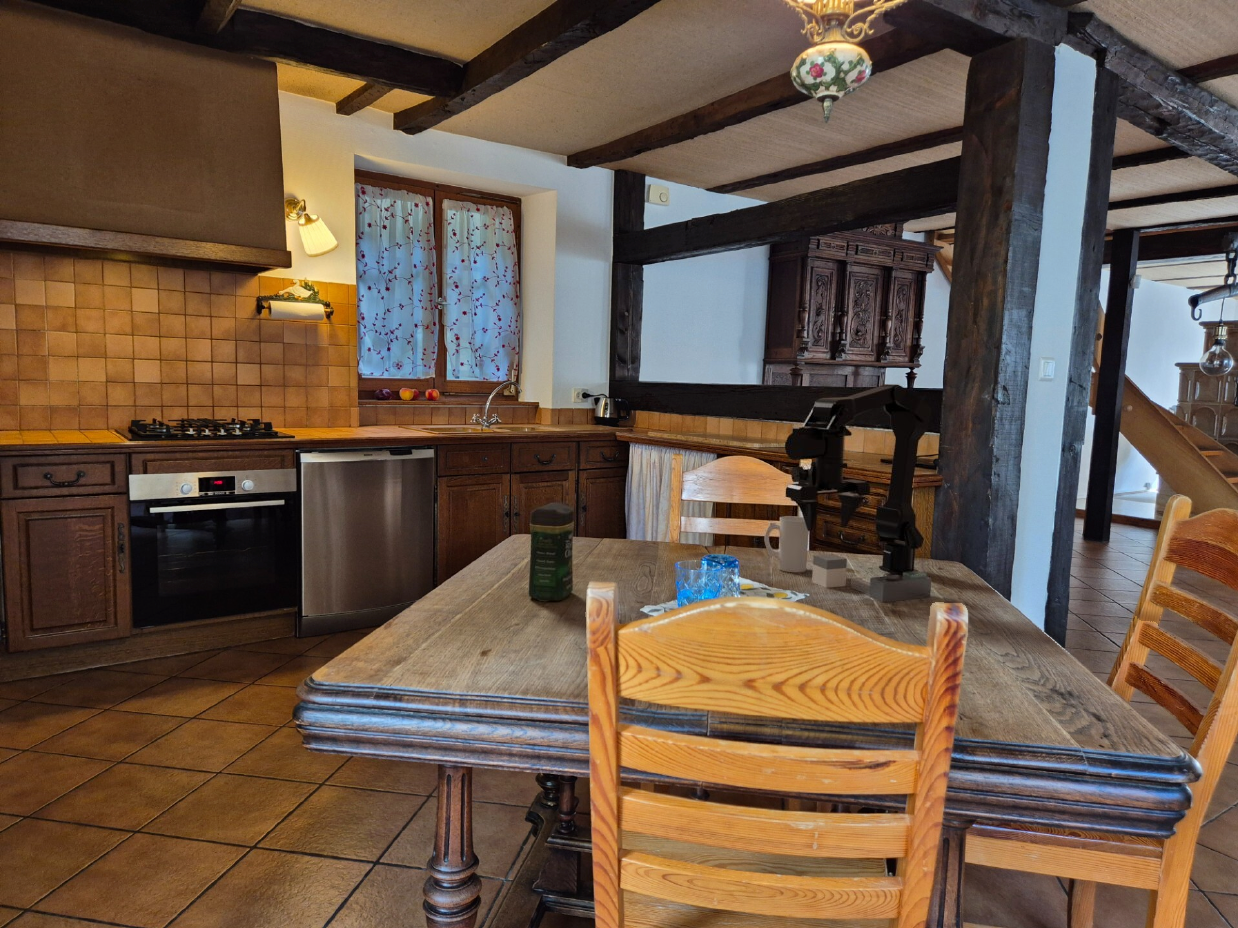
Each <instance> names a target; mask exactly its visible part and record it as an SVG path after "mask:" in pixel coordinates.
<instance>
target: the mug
mask: <svg viewBox="0 0 1238 928" xmlns="http://www.w3.org/2000/svg"><path fill="white" fill-rule="evenodd" d="M774 530H778V531H779V537H778V538H779V539H778V542H779V543H778V544H779V547H778V549H777V550H775V549H774V548H772V546H771V543H770V534H771V533H772V531H774ZM809 533H810V531H808V530H807V527H806V524H805V521H804V518H803V516H793V515H791V516H790V515H786V516H780V517H779V523H776V522H775V521H774V522H772V521H769V525H768V526H767V528H766V530H765V534H764V544H765V545H764V546H765V547H766V551H767V553H768V555H769V557H775V558H778V570H780V571H783V572H785V573H786V572H787V573H795V574H797V573H804V572H806V571H807V563H808V546H809V535H810V534H809Z"/></svg>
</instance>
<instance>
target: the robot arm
mask: <svg viewBox="0 0 1238 928" xmlns="http://www.w3.org/2000/svg"><path fill="white" fill-rule="evenodd" d="M881 407H883V411H884V412H885V413H886V414H887V415H888V416H889V417H890V428H891V430H892V433H893V435H894V437H895V441H894V449H893V457H892V464H891V465H892V466H891V471H890V480H889V487H888V492H887V493H888V495H887V499H886V501H885V502H884V503H883V505H881V506H880V505H878V506H877V507H876V510H875V511H876V512H875V513H876V514H875V515H876V516H875V519H874V523H873V524H875V530H876V533H877V538H878V542H879V543H884V549H883V550H882V551H883V552H882V563H881V564H882V565H878V568H879V569H881V570H884V571H886V572H888V573H892V574H897V575H903V572H911V571H920V570H919V569H917V568H915V558H916V550H919V548H922V547H923V545H924V541H925V538H924V537H923V535H922V533H921V532H920V531H919V529H918V528H917V526H916V525H917V524H916V521H917V520H916V519H917V517H916V513H915V511H914V509H913V506H912V503H911V500H912V491H913V485H914V477H915V471H916V462H917V456H918V448H919V442H920V440H921V439H922V437H923V436H924V435H925V433H927V431H928V429H929V425H930V421H931V417H932V409H931V407H929V405H928V402H926V401H923V400H922V399H921V398H920V397H918V396H916V395H915V394H913V393H912V392H909V391H908V390H907V389H905V388H904V386H902V385H901V384H887V383H886V384H885V383H884V384H881V385H879V386H878V387H875V388H871V389H867V390H865V391H862V392H858V393H855V394H852V395H849V396H846V397H845V396H844V397H822V398H818V399H816V401H814V405H813V407H812V409H811V411H810V412H809V414H808V415H807V417H806V419H805V420H804V423H803V424H802V426H801V427H799V426H796V427H795V426H793V427H792V430H791V431H792V433H790V434H789V435H788V436H787V438H786V441H785V442H784V451H785V454H786V456H787V457H788V458H789V459H790V460H792V461H798V460H799V461H801V460H812V459H813V460H812V461H811V462H810V468H807V469H806V468H805V469H804V467H803V466H794V467H792V468H791V480H792V482H793V483H788V485H787V486H786V487H785V498H788V499H790V501H791V502H795V503H796V505H798V507H799V510H800V511H801V515H802V517H803V518H804V521H805V524H806V527H807V530H808V531H809V532H813V529H814V527H815V520H816V516H817V510H818V503H819V501H818V500H816V499H817V497H818V496H820V495H821V496H822V495H832V494H837V497H838V498H839V501H840V526H841V528H843V529H845V528H847V527H848V525H849V523H850V521H851V519H852V517H853V515H854V514H855V512H856V511H857V509H858V507H859V506H860V504H861V503H862V502H863V501H864V500H866V496H871V486H870V484H869V482H868V481H863V480H860V479H854V478H853V479H843V478H844V477H843V476H844V474H843V473H844V469H847V468H848V463H847V462H844V455H845V454H844V451H845V447H844V446H845V437H850V436H852V434H853V433H852V432H851V430H849V429H848V427H846V425H848V424H850V423H851V422H853V421H854V420H856V417H857V416H858V415H860V414H862V413H866V412H869V411H871V410H872V411H873V410H875V409H878V408H881Z"/></svg>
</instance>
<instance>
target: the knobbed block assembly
mask: <svg viewBox="0 0 1238 928" xmlns="http://www.w3.org/2000/svg"><path fill="white" fill-rule="evenodd" d="M869 580H870V581H866V580H864V579H863V578H862V577H851V578H850V588H851V589H854V590H856V591H859V592H860V593H863V594H865V595H868V597H869V598H871V599H874V600H876V601H879V602H881V603H886V602H887V603H888V602H897V601H905V600H908V601H909V600H917V599H926V598H931V594H932V593H931V591H932V577H929V576H928V573H926V572H923V571H921V570H919V571H911V572H903V574H894V573H892V572H888V573H887V572H886V573H884V574H883V575H882V576H875V577H870V579H869Z"/></svg>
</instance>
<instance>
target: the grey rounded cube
mask: <svg viewBox="0 0 1238 928" xmlns="http://www.w3.org/2000/svg"><path fill="white" fill-rule="evenodd" d="M847 562H848V559H847V558H846V557H843V556H839V555H838V554H834V553H825V554H814V555H813V557H812V576H811V577H812V579H811V581H812V583H814V584H816V585H819V586H821V587H824V588H826V589H827V588H836V587H837V588H838V587H846V583H847V582H846V581H847V564H848V563H847Z"/></svg>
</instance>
